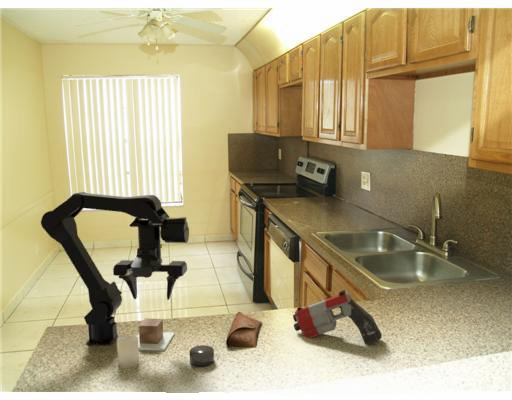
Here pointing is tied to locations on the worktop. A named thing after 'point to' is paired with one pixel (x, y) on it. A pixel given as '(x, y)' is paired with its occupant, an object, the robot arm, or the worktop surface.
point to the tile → (161, 345)
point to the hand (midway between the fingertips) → (151, 299)
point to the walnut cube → (151, 331)
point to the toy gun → (335, 318)
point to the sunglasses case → (243, 332)
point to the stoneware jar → (128, 351)
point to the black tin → (201, 356)
